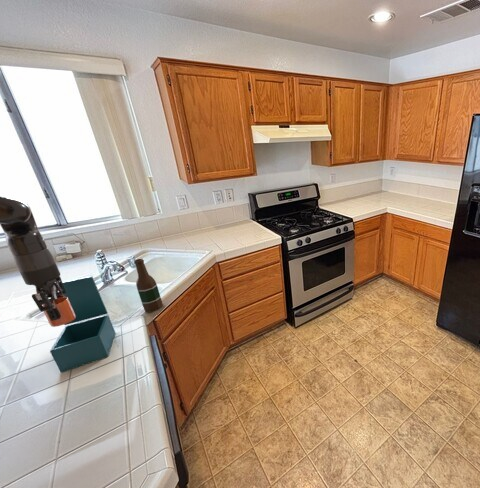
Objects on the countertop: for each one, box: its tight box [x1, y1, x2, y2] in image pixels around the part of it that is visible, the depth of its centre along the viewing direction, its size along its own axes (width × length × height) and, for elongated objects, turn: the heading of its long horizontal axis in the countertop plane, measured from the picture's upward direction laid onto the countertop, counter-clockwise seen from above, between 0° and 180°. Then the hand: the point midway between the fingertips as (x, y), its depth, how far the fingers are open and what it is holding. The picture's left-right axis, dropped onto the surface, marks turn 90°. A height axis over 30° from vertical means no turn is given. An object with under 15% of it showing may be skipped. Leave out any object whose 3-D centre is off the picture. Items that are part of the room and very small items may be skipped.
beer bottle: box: [133, 258, 163, 313], centre depth 117 cm, size 8×8×24 cm
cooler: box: [49, 314, 116, 373], centre depth 94 cm, size 16×13×9 cm
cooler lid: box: [49, 275, 109, 326], centre depth 97 cm, size 16×13×5 cm
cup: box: [42, 297, 76, 328], centre depth 82 cm, size 6×6×7 cm
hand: (60, 313), depth 83 cm, fingers closed on cup, 6 cm apart
